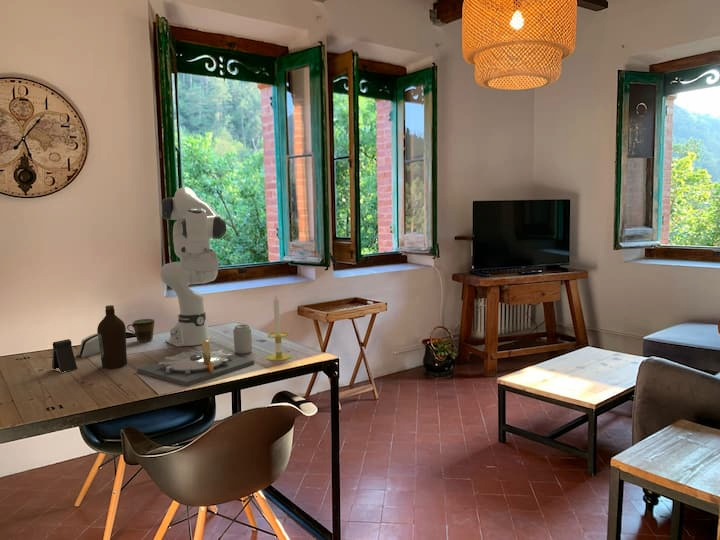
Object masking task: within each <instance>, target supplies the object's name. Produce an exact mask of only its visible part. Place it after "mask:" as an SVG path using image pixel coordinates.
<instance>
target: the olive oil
mask: <svg viewBox="0 0 720 540" xmlns="http://www.w3.org/2000/svg"><path fill="white" fill-rule="evenodd" d="M115 313H116V312H115V306H114V305H109V304H108V305H105V316H104V317H103V318H102V319H101V321H100V322H98V326H97V328H96V329H97V332H96V333H97V334H98V340H99V347H100V352H99V354H100V360H101V368H102V369H105V370H106V369H107V370H110V369H111V370H112V369H113V370H114V369H119V368H122V367H123V368H124V367H125V366H127V365H128V358H127V357H128V356H127V355H128V354H127V334H126V333H127V330H126V329H127V326H126V324H125V322H124V321H123V319H121V318H120V317H119V316H117V315H116V314H115Z"/></svg>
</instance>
